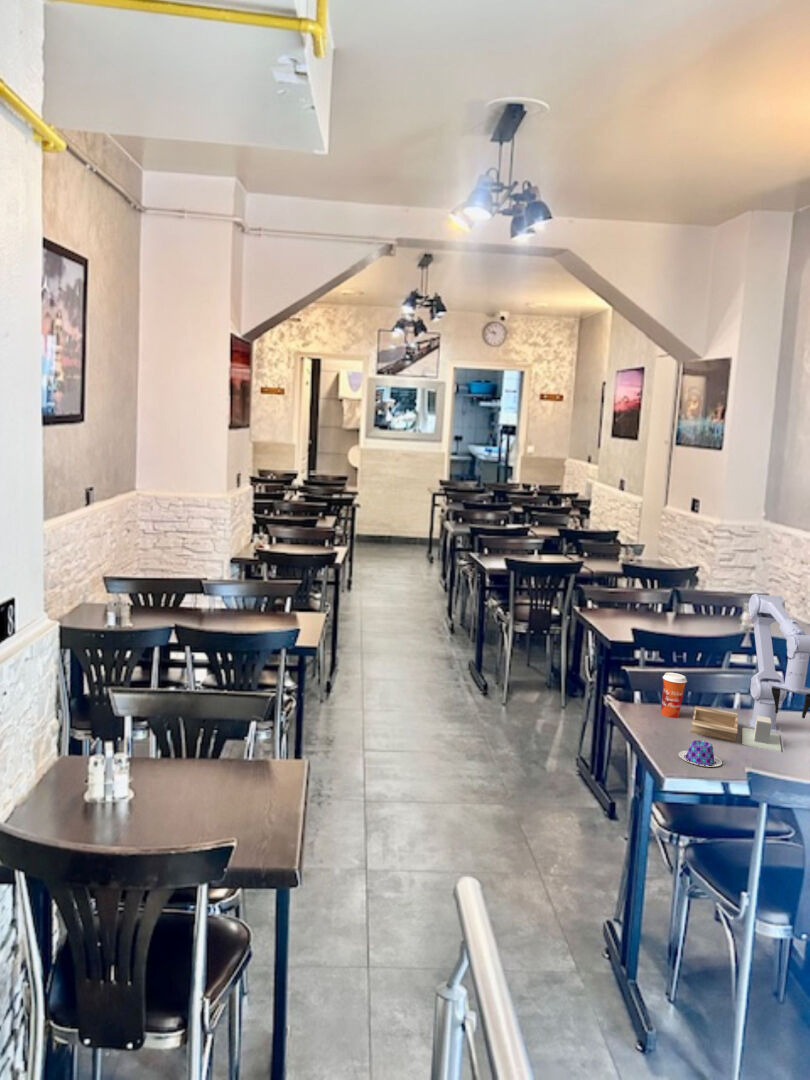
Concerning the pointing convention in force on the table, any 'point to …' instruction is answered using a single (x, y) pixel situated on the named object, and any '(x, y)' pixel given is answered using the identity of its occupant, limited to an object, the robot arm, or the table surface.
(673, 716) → the paper cup
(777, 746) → the board
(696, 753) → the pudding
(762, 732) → the block
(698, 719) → the light wood shallow tray
